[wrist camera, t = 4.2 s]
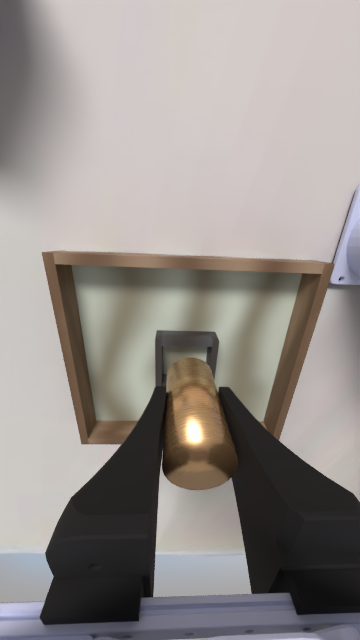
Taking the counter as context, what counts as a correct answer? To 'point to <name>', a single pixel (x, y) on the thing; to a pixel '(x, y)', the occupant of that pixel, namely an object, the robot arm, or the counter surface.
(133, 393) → the walled box
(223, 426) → the bronze metal cylinder
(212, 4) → the counter surface
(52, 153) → the counter surface
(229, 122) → the counter surface
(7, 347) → the counter surface
